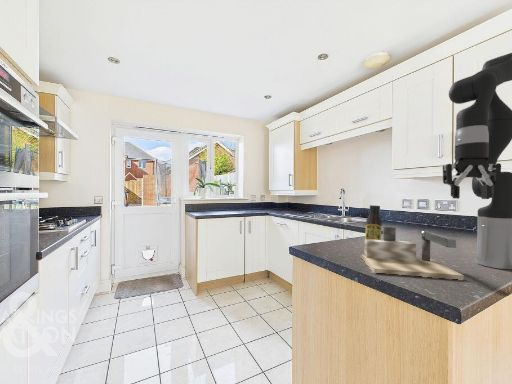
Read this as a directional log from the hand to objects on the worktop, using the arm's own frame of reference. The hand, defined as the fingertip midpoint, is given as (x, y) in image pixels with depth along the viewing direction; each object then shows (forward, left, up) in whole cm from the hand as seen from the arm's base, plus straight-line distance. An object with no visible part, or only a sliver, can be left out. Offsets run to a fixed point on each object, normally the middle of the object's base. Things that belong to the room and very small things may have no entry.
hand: (470, 198), depth 71 cm
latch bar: (+6, -6, -15) cm, 17 cm away
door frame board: (+15, -6, -24) cm, 29 cm away
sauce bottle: (+19, -29, -24) cm, 42 cm away
